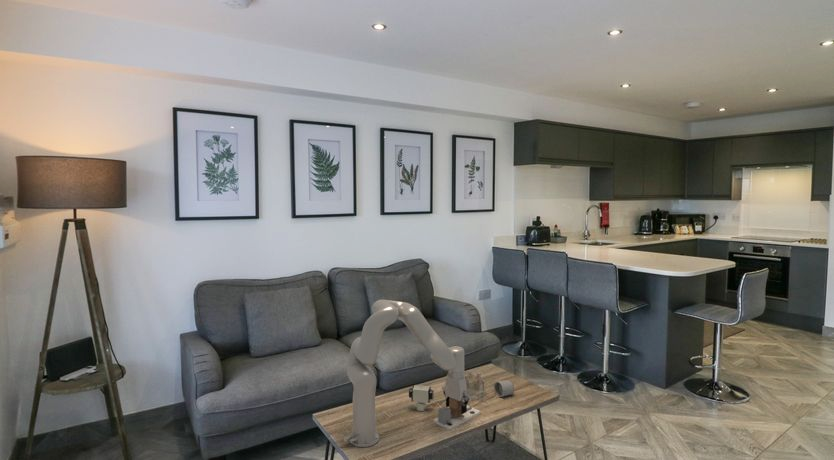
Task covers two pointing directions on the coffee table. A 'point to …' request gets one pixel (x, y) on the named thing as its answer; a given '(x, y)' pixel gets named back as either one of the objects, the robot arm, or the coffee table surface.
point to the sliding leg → (455, 407)
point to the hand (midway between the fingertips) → (456, 409)
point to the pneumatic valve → (421, 396)
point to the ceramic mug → (503, 388)
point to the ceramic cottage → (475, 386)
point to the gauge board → (451, 421)
